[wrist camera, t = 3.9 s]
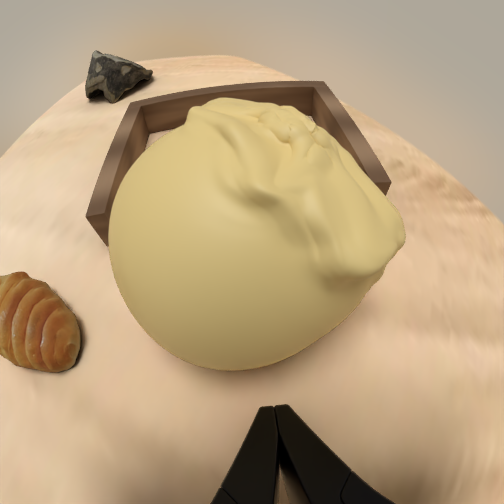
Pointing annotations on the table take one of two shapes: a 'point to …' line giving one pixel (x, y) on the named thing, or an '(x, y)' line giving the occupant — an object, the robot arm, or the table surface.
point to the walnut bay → (178, 104)
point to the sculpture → (247, 235)
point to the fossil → (112, 76)
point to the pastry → (36, 325)
